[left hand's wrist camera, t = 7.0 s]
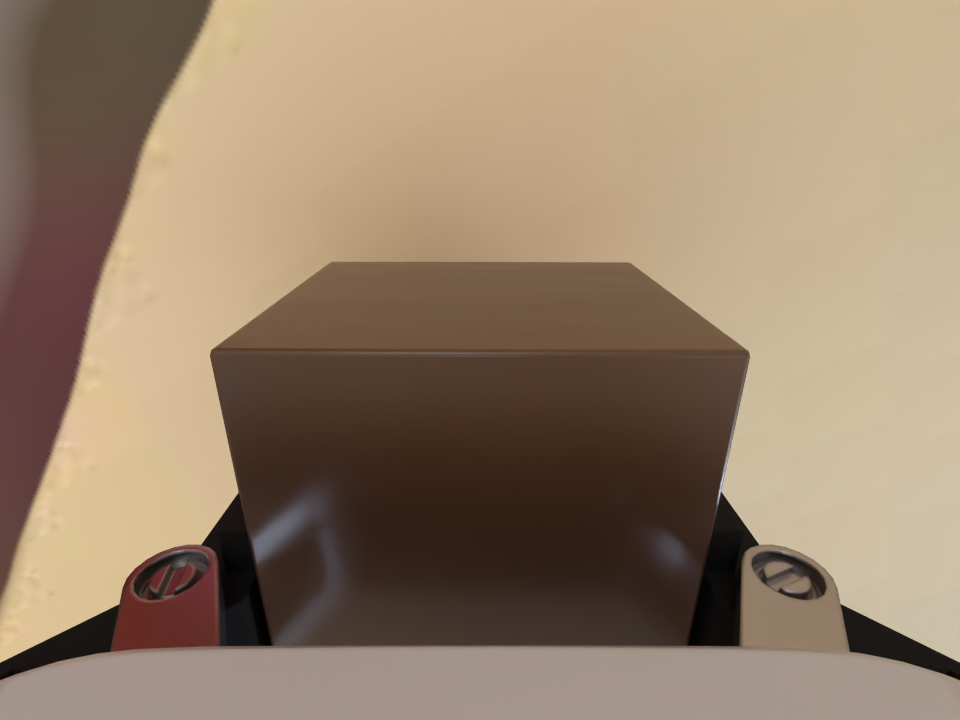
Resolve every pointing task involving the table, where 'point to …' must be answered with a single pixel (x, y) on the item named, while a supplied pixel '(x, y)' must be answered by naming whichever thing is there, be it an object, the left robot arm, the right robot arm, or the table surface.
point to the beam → (479, 454)
